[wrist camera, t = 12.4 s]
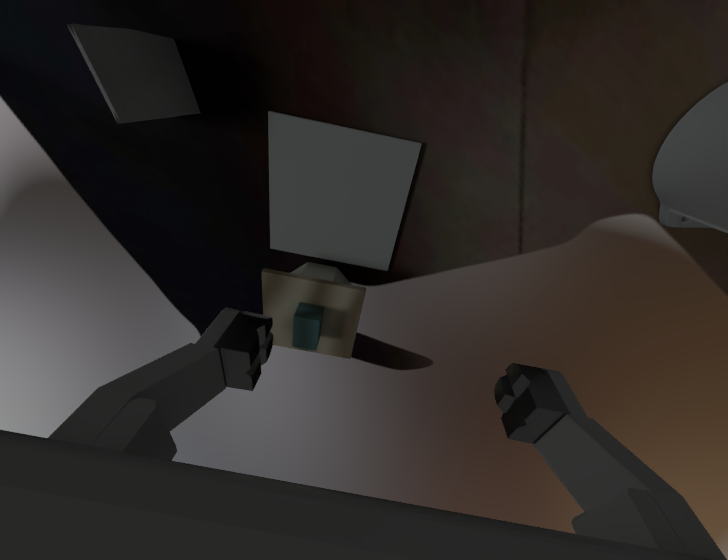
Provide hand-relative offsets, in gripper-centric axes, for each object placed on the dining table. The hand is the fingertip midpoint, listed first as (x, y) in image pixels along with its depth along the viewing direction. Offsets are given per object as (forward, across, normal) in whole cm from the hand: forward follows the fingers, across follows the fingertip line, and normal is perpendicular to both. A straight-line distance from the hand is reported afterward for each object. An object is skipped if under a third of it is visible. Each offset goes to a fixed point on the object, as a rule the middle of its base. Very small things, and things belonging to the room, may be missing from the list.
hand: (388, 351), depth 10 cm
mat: (+30, +6, +6) cm, 32 cm away
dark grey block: (+30, +26, -4) cm, 40 cm away
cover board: (+24, +7, +22) cm, 34 cm away
